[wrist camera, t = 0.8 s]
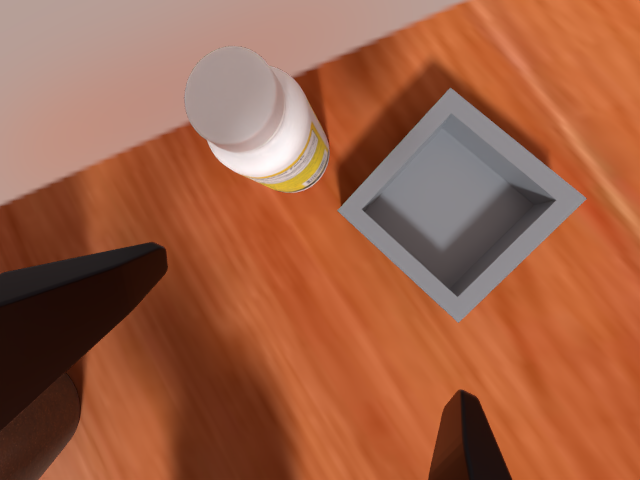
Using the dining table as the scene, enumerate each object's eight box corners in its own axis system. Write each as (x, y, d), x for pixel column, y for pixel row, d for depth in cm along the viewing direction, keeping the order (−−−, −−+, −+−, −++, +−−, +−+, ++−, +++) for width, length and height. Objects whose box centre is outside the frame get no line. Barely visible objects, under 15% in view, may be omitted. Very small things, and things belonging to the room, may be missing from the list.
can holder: (446, 311, 21) (458, 322, 18) (342, 214, 22) (337, 210, 19) (555, 204, 20) (586, 198, 17) (439, 109, 21) (450, 87, 18)
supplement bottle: (250, 124, 23) (161, 41, 13) (325, 110, 22) (286, 10, 12) (259, 199, 23) (175, 170, 13) (334, 188, 22) (303, 148, 12)
